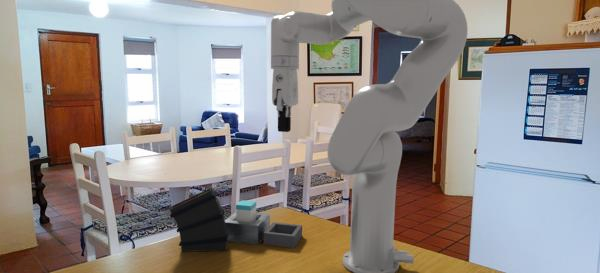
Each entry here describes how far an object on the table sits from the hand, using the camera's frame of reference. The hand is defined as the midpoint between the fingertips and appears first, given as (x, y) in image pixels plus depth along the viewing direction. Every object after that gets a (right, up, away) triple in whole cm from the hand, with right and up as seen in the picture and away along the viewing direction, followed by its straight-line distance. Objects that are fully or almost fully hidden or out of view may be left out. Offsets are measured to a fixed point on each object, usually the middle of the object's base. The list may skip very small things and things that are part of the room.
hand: (284, 131), depth 113 cm
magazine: (-20, -29, -13) cm, 38 cm away
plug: (-10, -28, -4) cm, 30 cm away
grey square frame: (0, -28, -7) cm, 29 cm away
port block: (-10, -28, -4) cm, 30 cm away
